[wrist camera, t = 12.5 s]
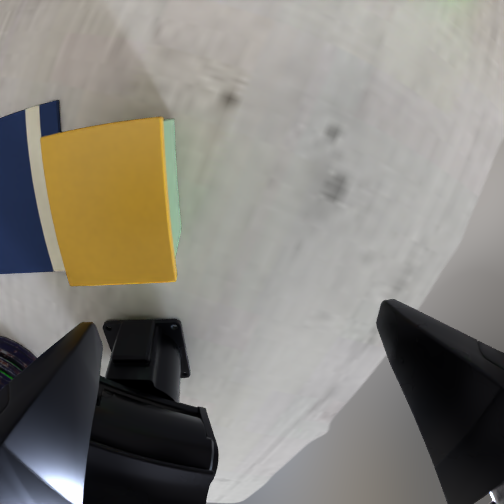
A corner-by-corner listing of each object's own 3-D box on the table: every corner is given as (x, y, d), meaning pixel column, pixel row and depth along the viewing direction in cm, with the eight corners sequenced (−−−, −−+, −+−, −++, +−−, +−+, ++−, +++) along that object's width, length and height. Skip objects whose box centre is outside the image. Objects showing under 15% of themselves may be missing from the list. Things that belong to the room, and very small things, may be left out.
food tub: (184, 232, 20) (176, 282, 14) (103, 237, 19) (69, 286, 14) (177, 114, 17) (160, 116, 11) (88, 126, 16) (39, 137, 10)
